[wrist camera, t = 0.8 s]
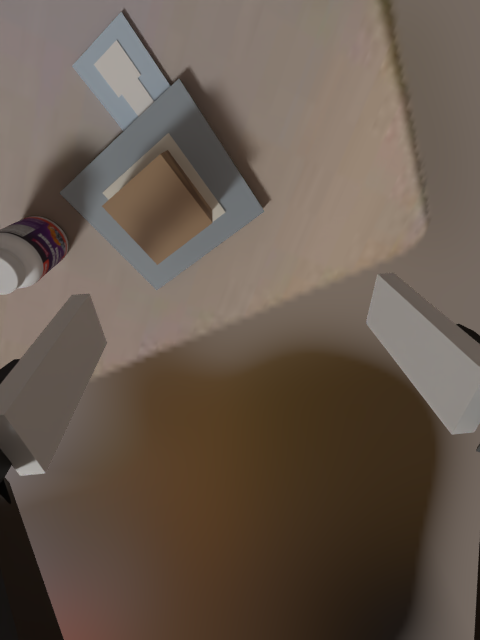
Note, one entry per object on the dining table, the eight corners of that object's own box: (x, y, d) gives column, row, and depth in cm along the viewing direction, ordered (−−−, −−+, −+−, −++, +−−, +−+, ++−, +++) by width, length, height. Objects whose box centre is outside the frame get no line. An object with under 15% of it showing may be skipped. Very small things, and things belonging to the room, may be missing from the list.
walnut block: (116, 195, 31) (101, 206, 27) (167, 149, 29) (160, 154, 25) (164, 247, 34) (157, 265, 30) (212, 210, 33) (212, 222, 28)
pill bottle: (74, 262, 36) (34, 303, 28) (26, 260, 35) (-30, 301, 27) (63, 216, 33) (15, 246, 25) (11, 213, 32) (-57, 242, 24)
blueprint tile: (73, 66, 26) (71, 65, 26) (122, 13, 25) (120, 11, 24) (140, 151, 30) (139, 151, 30) (186, 109, 29) (185, 109, 28)
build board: (64, 190, 32) (58, 193, 30) (180, 80, 27) (178, 78, 26) (158, 285, 38) (156, 291, 37) (262, 208, 34) (264, 211, 33)
